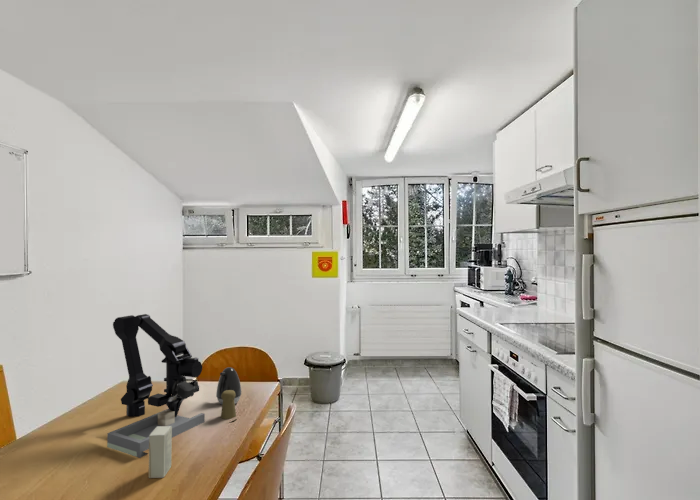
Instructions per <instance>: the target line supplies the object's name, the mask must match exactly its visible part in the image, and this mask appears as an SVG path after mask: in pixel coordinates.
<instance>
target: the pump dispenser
mask: <svg viewBox="0 0 700 500" xmlns="http://www.w3.org/2000/svg"><path fill="white" fill-rule="evenodd" d="M219 375H220V376H219V379H218V382H217V387H216V392H215V394H216V398H217V399H216V400H217V402H218V403H219V404H220V405H222V404H223V400H222V398H221V395H222V393H223V392H224V391H226V390H233V391H235V394H236V396H235V399H234V403H235V405H236V404H237V403H238V402H239V400H240V398H241V395H242V386H241V381H240V378H239V375H238V373H237V371H236V370H235V368H233V367H231V366H230V367H229V366H228V367H226V368H224V369H223V371H222V372H220V373H219Z"/></svg>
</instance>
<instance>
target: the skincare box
mask: <svg viewBox="0 0 700 500" xmlns="http://www.w3.org/2000/svg"><path fill="white" fill-rule="evenodd" d="M172 439H173V437H172V426H157V427H156V428H155V429H154V430H153V431H152V433H151V434H150V435H149V449H148V479H155V478H158V479H161V478H163V479H164V478H165V476H167V473H168V472H169V471H170V470H171V467H172V449H173V448H172V442H173V441H172Z"/></svg>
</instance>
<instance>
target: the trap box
mask: <svg viewBox="0 0 700 500" xmlns="http://www.w3.org/2000/svg"><path fill="white" fill-rule="evenodd" d="M165 410H169V408H167V409H165ZM165 410H162V411H159V412H157V413H154V414H152V415H149V416H146V417H145V418H141V419H139V420H137V421H134V422H132V423H129V424H127V425H125V426H122V427H119V428H117V429H115V430H112V431H109V432H107V437H106V438H107V440H106V442H107V448H109V449H112V450H115V451H118V452H121V453H123V454H127V455H129V456H134V457H136V458H138V459H141V458H143V457H145V456H147V455H149V452H148V453H147V452H145V451H147V450H148V451H149V435H150V434H151V433H152V431H153V430H154V429H155V428H156V427H157V426H161V425H158V413H160V412H163V411H165ZM205 415H206V414H205V413H204V412H203V413H202V412H200V413H198V414H196V415H195V416H194V415H193V416H192V417H186V416H183V415H178V414H177V417H175V423H172V424H170V425H168V426H172V438H174V437H177V436H178V435H181V434H183V433H185V432H187V431H189V430H191V429H193V428H195V427H198V426H200V425H201V424H203V423H205V421H206V420H205V418H206V417H205Z"/></svg>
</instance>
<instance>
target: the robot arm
mask: <svg viewBox="0 0 700 500" xmlns="http://www.w3.org/2000/svg"><path fill="white" fill-rule="evenodd" d="M112 327H113V328H112V329H113V330H114V334H115V336H116V337H118V339H120V340H121V343H122V348H123V349H122V350H123V353H124V357H125V362H126V367H127V372H128V379H127V383H126V392H125V394H124V395H122V397H121V398H120V403H121V405H123V406H126V410H125V411H126V413H125V414H126V416H127V417H129V418H132V417H134V418H135V417H136V418H137V417H138V418H139V417H142V416H144V415H145V414H146V405H145V402H146V401H145V400H147V405H149V406H154V407H157V408H159V407H162V406H164V405H166V407H167V409H169V410H171V411H175V417H177V415H178V413H179V411H180V408H181V405H182V403H183V401H184V400H186V399H188V398H191V397H194V394H195V393H198V392H199V391H200V385H199V382H198V381H197V380H191V381H189V382H187V378H186V377H189V378H198V377H200V375H201V373H202V371H203V365H202V363H201V361H199V357H193V356H192V353H191V352H190V350H189V348H188V347H187V344H186V342H185V340H183V339H182V338H179V337H178V336H175V335H172V334H169V333H168V332H167V331H166V330H165V329H164V328H163V327H161V326H160V324H158V323H157V322H156V321H155V320H153V319H152V318H151V315H150V314H146V313H144V314H138V315H133V314H132V315H126V316H119V317H116V318H115V319H114V321H113V322H112ZM139 328H140V329H141V330H142V331H143V332H144V333H146V334H147V335H148V336H149V338H151V339H153V340H154V341H155V342H156V343H157V344H158V347H159V350H160V352H161V353H162V355H164V356H165V357H164V358H162V360H161V363H162V364H163V363H165V368H166V369H165V373H166V374H165V376H166V377H163V382H166V383H165V384H166V385H165V386H166V387H165V388H164V389H163V393H164V394H163V393H156V394H155V393H154V394H153V395H151V393H152V391H153V385H154V384H153V383H152V377H151V375H148V376H147V375H146V374H145V372H144V369H143V365H142V360H141V354H140V350H139V345H138V339H137V335H138V332H139ZM165 393H166V394H165Z"/></svg>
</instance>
